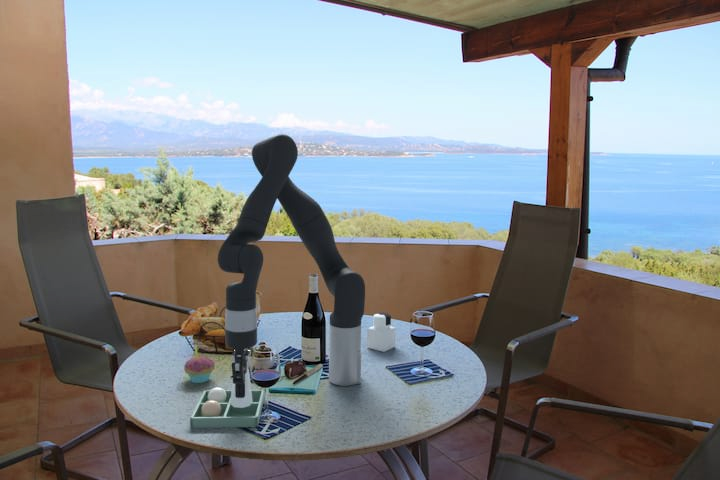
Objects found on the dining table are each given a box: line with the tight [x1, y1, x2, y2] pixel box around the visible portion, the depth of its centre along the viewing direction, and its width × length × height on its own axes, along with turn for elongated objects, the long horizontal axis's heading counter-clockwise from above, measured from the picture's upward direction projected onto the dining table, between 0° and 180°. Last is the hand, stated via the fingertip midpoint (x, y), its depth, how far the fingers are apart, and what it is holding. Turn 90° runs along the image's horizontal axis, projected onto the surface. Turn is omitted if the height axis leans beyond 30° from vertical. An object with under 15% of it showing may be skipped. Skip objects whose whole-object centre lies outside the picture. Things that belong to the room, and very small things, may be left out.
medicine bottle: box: [367, 312, 397, 353], centre depth 189 cm, size 7×7×12 cm
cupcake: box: [183, 343, 216, 384], centre depth 157 cm, size 9×8×12 cm
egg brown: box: [201, 400, 221, 417], centre depth 134 cm, size 5×5×5 cm
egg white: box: [208, 386, 227, 403], centre depth 142 cm, size 5×5×5 cm
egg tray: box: [189, 389, 265, 429], centre depth 138 cm, size 16×16×3 cm
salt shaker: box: [230, 368, 253, 408], centre depth 134 cm, size 5×5×11 cm
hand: (241, 392), depth 134 cm, fingers closed on salt shaker, 4 cm apart
